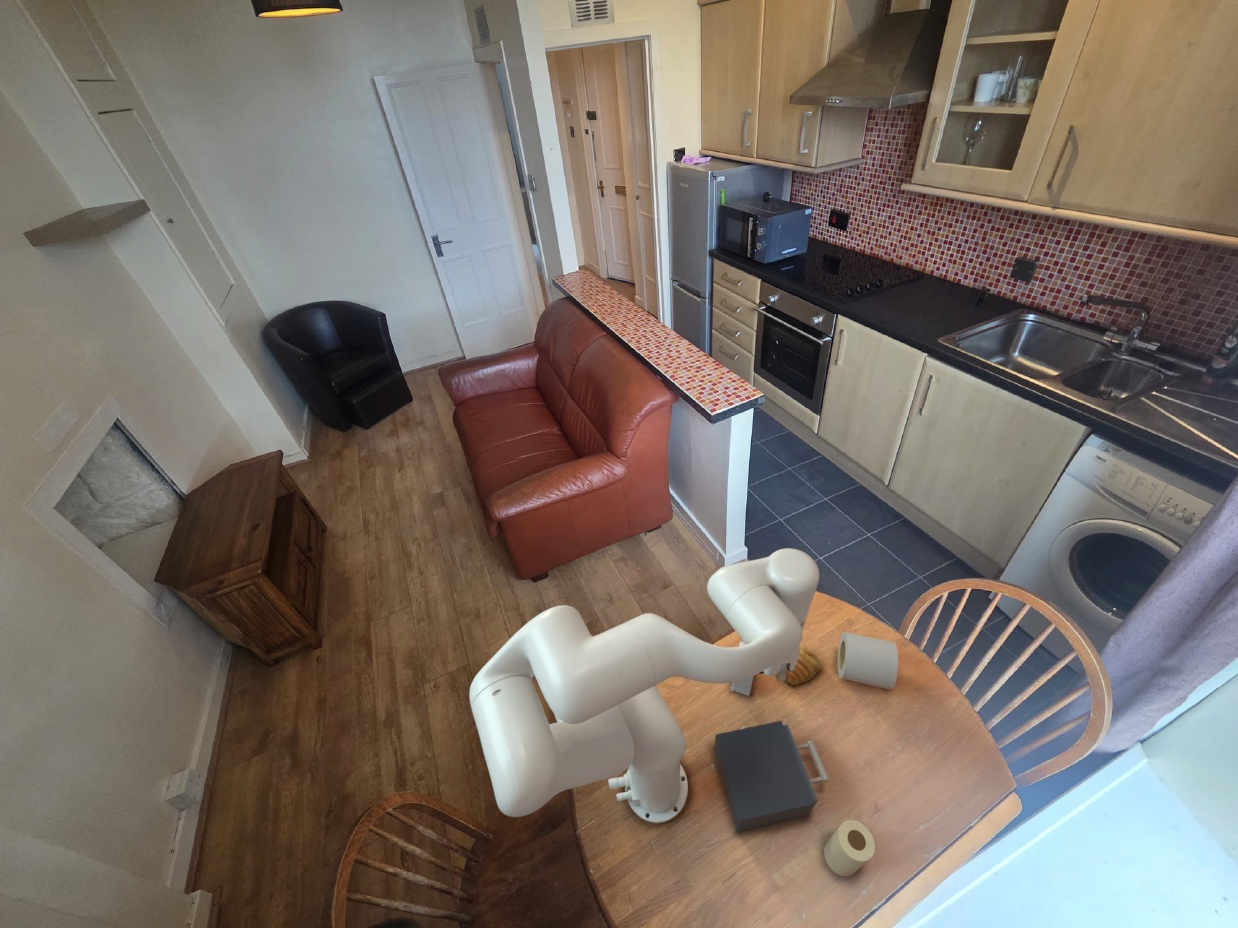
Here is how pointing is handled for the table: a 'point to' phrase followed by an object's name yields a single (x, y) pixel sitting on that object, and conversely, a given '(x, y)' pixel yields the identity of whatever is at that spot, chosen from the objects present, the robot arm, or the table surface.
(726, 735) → the cabinet
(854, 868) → the paper roll
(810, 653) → the pastry
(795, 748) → the drawer
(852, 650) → the toilet paper
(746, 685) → the cosmetic box
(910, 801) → the table surface
